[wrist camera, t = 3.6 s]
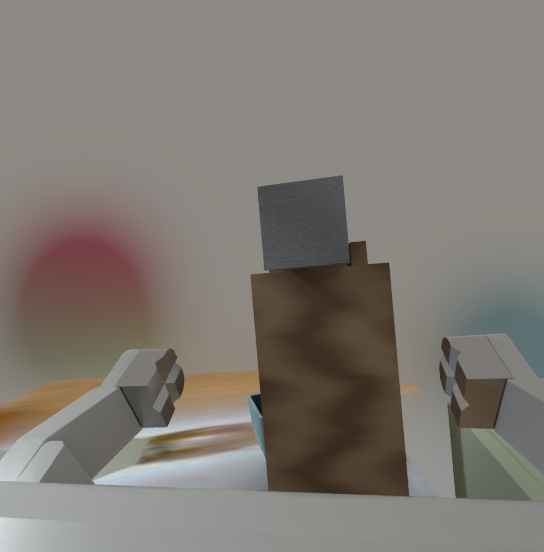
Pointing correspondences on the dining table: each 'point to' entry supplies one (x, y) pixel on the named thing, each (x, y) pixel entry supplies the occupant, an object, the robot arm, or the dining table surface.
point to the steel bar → (304, 225)
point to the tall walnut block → (330, 379)
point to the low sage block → (491, 467)
